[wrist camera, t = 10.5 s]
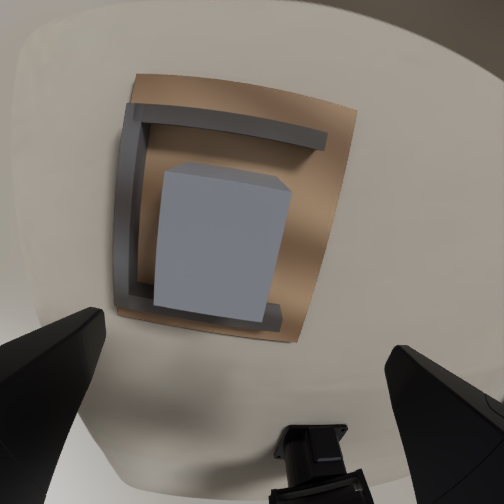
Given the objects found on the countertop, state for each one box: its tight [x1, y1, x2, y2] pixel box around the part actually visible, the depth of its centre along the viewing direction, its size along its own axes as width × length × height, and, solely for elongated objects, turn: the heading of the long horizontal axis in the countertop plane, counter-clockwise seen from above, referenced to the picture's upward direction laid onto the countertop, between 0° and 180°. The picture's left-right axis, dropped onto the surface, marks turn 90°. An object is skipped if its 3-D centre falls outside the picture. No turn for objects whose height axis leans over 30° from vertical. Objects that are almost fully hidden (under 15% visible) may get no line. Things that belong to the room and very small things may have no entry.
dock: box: [113, 74, 357, 343], centre depth 17 cm, size 16×13×2 cm
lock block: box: [154, 162, 292, 322], centre depth 15 cm, size 6×5×6 cm
